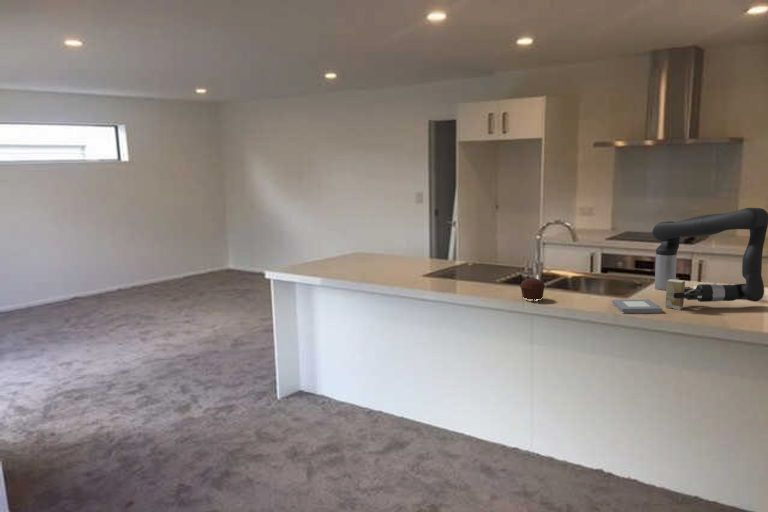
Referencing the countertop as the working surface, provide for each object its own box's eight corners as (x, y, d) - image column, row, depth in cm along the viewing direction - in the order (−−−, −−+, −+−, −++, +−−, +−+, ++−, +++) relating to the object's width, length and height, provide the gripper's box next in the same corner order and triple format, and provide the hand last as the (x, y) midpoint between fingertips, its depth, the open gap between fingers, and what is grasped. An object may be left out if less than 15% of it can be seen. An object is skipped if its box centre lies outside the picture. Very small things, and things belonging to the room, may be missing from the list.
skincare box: (664, 307, 253) (666, 280, 251) (668, 305, 256) (669, 278, 254) (680, 310, 249) (681, 282, 247) (684, 308, 252) (685, 280, 250)
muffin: (547, 298, 279) (548, 277, 277) (541, 303, 269) (541, 282, 268) (523, 296, 285) (523, 276, 283) (516, 301, 275) (516, 280, 274)
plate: (612, 303, 263) (612, 299, 263) (649, 303, 261) (649, 299, 261) (622, 313, 248) (622, 308, 247) (661, 312, 246) (661, 308, 245)
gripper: (703, 280, 256) (664, 281, 258) (718, 288, 242) (676, 288, 244) (702, 297, 257) (664, 297, 259) (717, 305, 243) (676, 306, 245)
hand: (670, 293), depth 252 cm, fingers open, 8 cm apart
